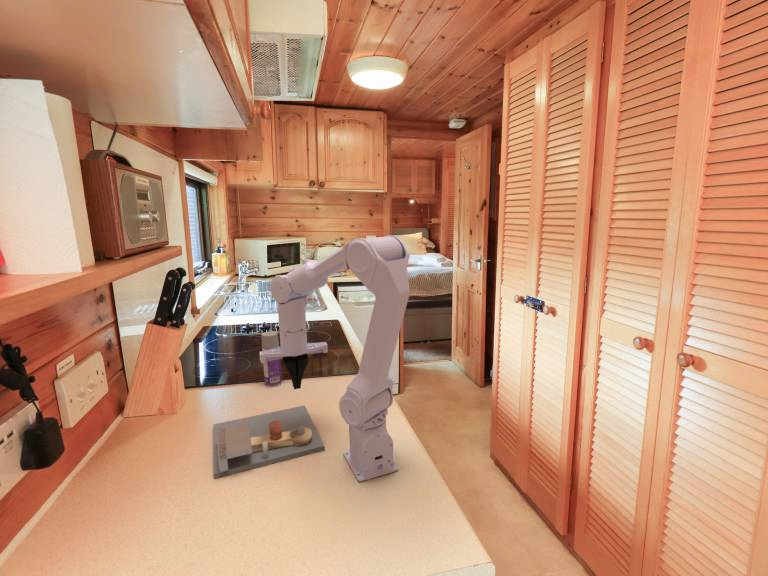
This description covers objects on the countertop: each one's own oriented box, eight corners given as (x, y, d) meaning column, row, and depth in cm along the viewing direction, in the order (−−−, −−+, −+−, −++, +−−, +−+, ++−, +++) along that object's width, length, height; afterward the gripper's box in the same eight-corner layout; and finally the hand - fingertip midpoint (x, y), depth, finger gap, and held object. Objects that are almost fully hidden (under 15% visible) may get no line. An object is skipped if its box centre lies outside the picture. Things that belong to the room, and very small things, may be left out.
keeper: (253, 468, 76) (251, 448, 75) (220, 477, 73) (218, 456, 73) (249, 441, 85) (247, 423, 84) (219, 448, 82) (217, 429, 82)
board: (324, 450, 81) (323, 432, 80) (214, 478, 73) (212, 459, 72) (304, 409, 98) (303, 394, 98) (213, 428, 90) (211, 412, 89)
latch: (310, 431, 86) (309, 413, 85) (313, 443, 82) (312, 423, 81) (236, 444, 82) (234, 424, 81) (234, 457, 77) (232, 436, 76)
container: (284, 380, 116) (280, 331, 113) (278, 387, 111) (274, 336, 108) (268, 379, 116) (264, 331, 113) (262, 386, 111) (258, 336, 109)
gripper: (320, 320, 92) (323, 374, 94) (256, 328, 86) (261, 386, 89) (329, 327, 86) (331, 386, 88) (259, 337, 80) (264, 399, 83)
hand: (296, 387), depth 88 cm, fingers closed
